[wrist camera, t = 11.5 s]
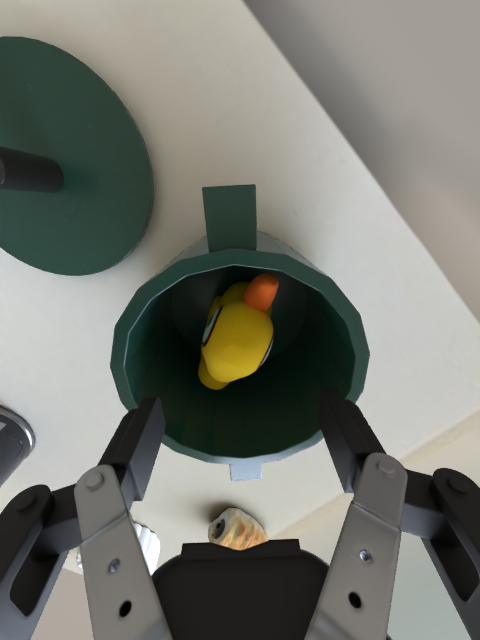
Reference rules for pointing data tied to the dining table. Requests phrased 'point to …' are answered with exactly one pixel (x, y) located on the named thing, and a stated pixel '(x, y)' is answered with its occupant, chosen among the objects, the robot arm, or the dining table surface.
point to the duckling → (238, 332)
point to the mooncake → (148, 545)
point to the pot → (277, 370)
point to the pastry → (236, 530)
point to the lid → (67, 164)
